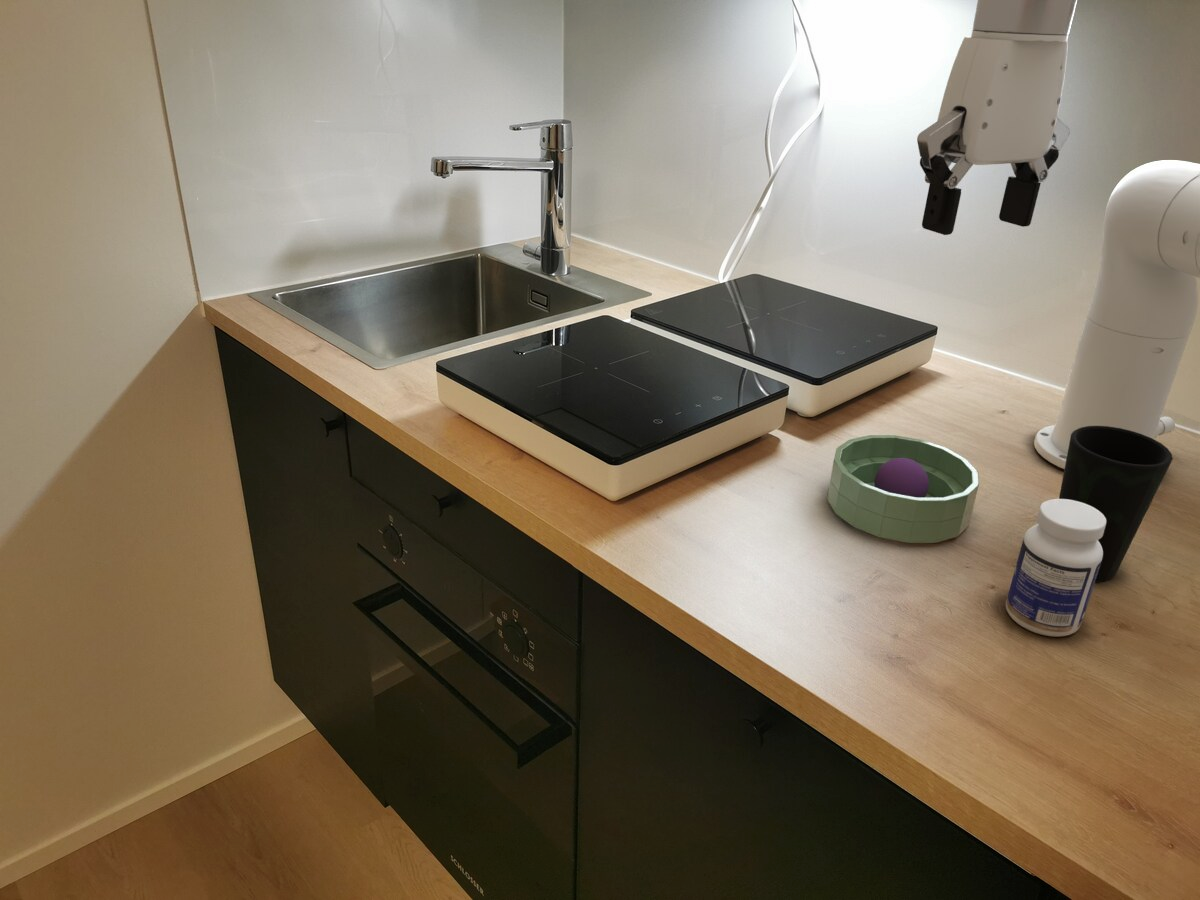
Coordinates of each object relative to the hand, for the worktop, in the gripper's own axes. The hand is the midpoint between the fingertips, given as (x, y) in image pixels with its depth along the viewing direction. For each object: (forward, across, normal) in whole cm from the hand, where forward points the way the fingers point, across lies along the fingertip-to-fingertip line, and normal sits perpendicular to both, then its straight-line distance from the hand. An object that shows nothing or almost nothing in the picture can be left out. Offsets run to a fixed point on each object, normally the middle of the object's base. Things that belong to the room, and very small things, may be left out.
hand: (976, 227), depth 83 cm
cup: (+26, -2, +18) cm, 32 cm away
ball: (+23, +7, +4) cm, 25 cm away
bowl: (+26, +7, +4) cm, 28 cm away
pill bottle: (+26, +8, +22) cm, 35 cm away
